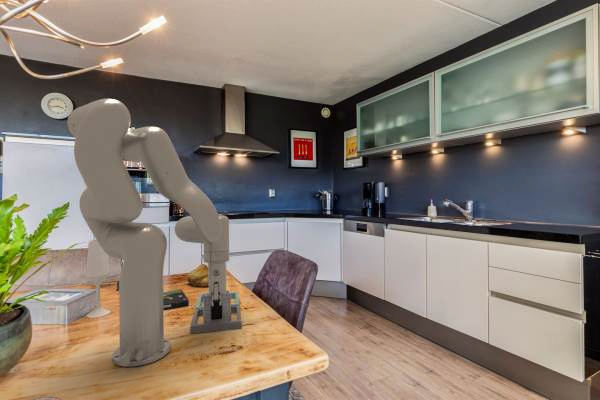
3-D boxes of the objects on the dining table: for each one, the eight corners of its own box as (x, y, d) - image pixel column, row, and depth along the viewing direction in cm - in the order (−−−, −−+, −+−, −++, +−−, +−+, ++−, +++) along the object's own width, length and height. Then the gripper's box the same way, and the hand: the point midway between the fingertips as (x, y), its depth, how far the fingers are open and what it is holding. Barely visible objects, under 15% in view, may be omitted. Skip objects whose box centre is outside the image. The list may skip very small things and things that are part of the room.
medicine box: (229, 317, 98) (228, 289, 98) (231, 322, 94) (231, 293, 94) (203, 320, 96) (202, 292, 96) (204, 326, 91) (203, 296, 91)
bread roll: (216, 286, 133) (216, 267, 133) (193, 290, 127) (193, 270, 127) (206, 280, 144) (206, 262, 144) (184, 283, 138) (184, 265, 138)
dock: (241, 328, 90) (241, 321, 90) (190, 333, 87) (190, 326, 86) (237, 297, 118) (237, 291, 118) (199, 300, 115) (199, 294, 115)
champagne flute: (107, 316, 100) (106, 241, 99) (82, 318, 98) (81, 242, 97) (112, 309, 106) (112, 238, 106) (89, 311, 104) (89, 239, 104)
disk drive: (189, 308, 109) (181, 295, 121) (189, 300, 109) (181, 288, 121) (156, 313, 103) (152, 300, 116) (156, 305, 103) (152, 292, 116)
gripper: (229, 260, 87) (229, 325, 88) (229, 250, 104) (229, 305, 104) (201, 262, 86) (202, 328, 86) (205, 251, 102) (206, 307, 102)
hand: (217, 315), depth 95 cm, fingers closed on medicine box, 4 cm apart
